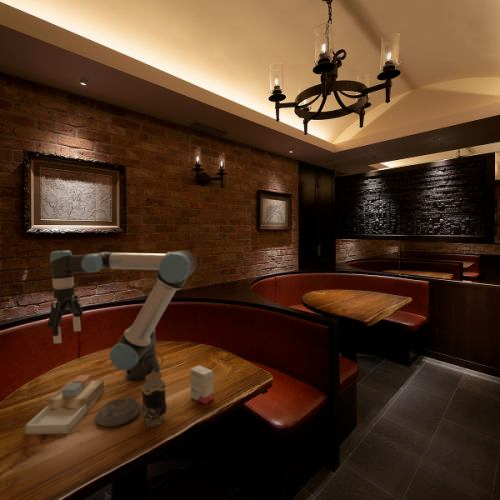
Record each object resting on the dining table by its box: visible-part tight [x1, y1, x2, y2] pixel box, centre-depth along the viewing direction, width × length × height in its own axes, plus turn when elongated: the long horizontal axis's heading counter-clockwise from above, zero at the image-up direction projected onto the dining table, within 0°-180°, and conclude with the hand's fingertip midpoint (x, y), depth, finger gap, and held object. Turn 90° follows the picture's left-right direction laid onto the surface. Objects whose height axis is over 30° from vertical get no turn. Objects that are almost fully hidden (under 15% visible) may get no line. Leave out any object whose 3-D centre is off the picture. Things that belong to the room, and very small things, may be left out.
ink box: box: [189, 364, 214, 405], centre depth 114 cm, size 9×5×12 cm, turn 54°
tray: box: [24, 404, 88, 435], centre depth 100 cm, size 14×12×3 cm
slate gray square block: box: [62, 383, 83, 398], centre depth 109 cm, size 5×5×3 cm
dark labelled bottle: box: [140, 351, 168, 427], centre depth 101 cm, size 9×8×25 cm
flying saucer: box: [95, 397, 142, 428], centre depth 104 cm, size 15×15×6 cm
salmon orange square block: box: [71, 374, 92, 389], centre depth 115 cm, size 5×5×3 cm
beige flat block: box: [48, 380, 105, 412], centre depth 113 cm, size 14×13×5 cm
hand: (68, 336), depth 121 cm, fingers open, 13 cm apart
